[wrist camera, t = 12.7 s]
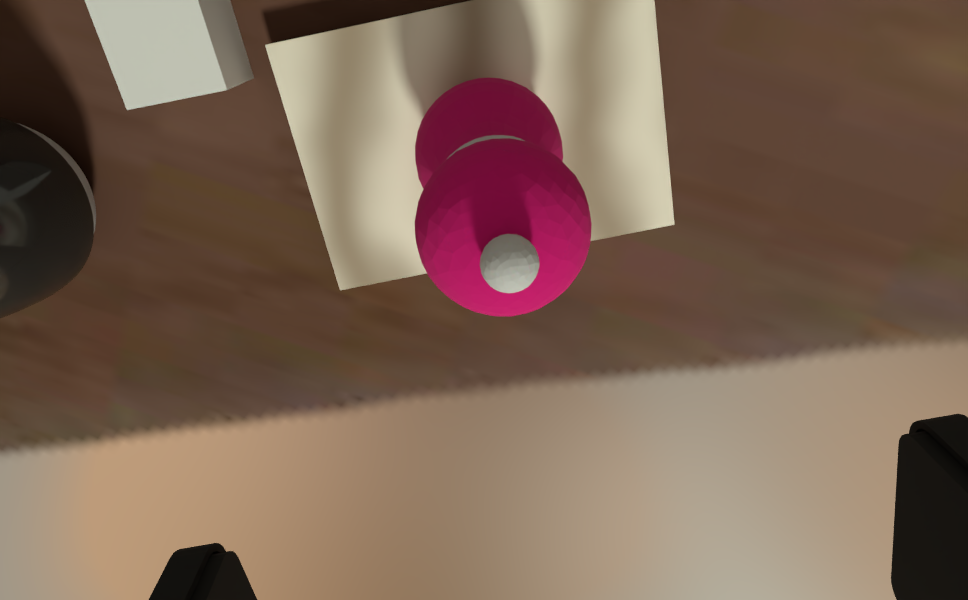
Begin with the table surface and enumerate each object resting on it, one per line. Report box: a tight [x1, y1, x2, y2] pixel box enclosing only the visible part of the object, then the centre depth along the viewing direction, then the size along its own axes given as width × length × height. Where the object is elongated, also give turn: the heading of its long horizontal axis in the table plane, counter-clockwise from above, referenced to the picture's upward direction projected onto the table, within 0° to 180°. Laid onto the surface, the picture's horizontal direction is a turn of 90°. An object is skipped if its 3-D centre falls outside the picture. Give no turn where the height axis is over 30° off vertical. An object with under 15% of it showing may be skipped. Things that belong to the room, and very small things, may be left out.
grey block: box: [85, 0, 254, 110], centre depth 35 cm, size 5×5×5 cm
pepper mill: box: [415, 78, 592, 316], centre depth 29 cm, size 7×7×20 cm
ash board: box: [265, 0, 674, 290], centre depth 39 cm, size 20×14×2 cm
